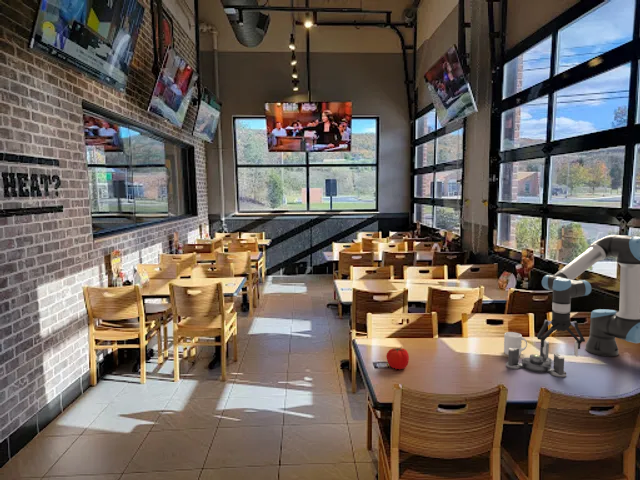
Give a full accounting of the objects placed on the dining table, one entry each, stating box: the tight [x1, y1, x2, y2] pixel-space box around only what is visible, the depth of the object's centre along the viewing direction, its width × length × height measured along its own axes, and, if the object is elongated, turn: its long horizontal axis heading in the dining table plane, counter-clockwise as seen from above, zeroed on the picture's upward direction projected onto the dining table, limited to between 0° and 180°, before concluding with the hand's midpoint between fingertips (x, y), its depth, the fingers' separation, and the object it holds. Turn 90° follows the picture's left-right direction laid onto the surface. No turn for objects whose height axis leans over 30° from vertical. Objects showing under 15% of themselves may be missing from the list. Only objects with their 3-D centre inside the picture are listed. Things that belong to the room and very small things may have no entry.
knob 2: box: [539, 340, 550, 360], centre depth 224 cm, size 6×2×8 cm, turn 134°
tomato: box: [385, 346, 410, 370], centre depth 219 cm, size 11×13×10 cm
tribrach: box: [505, 353, 567, 378], centre depth 217 cm, size 25×24×6 cm
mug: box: [503, 331, 528, 356], centre depth 235 cm, size 9×12×11 cm
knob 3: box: [552, 353, 565, 374], centre depth 207 cm, size 6×2×8 cm, turn 176°
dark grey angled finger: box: [507, 347, 520, 366], centre depth 218 cm, size 6×2×8 cm, turn 125°
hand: (559, 354), depth 207 cm, fingers open, 13 cm apart
